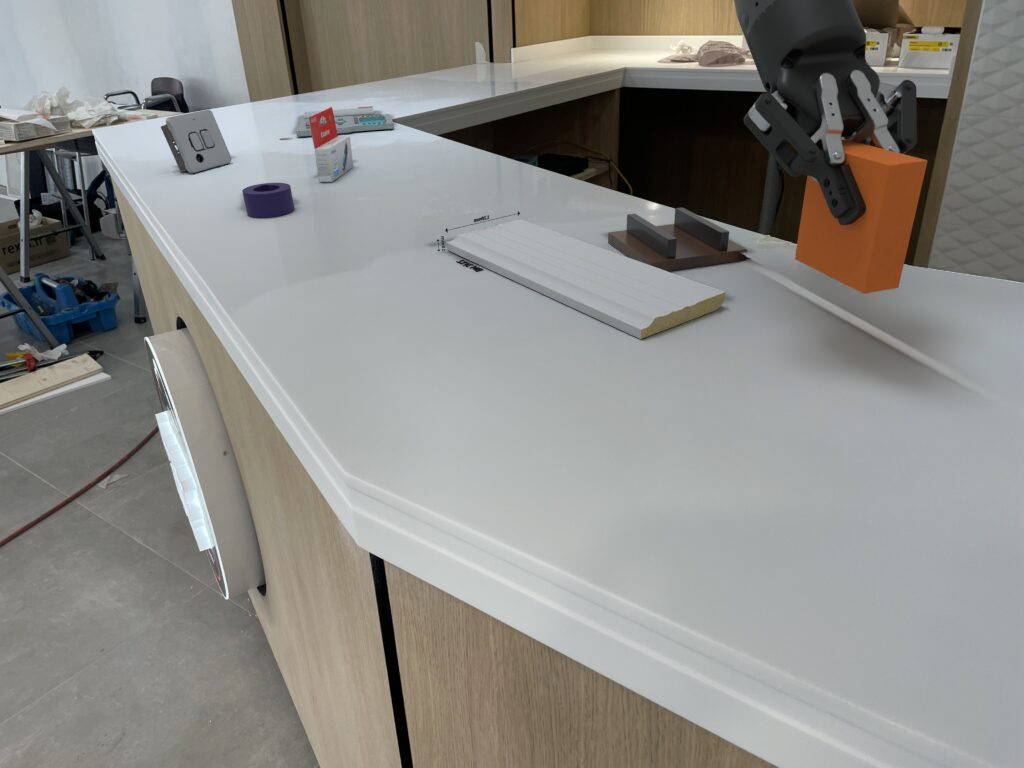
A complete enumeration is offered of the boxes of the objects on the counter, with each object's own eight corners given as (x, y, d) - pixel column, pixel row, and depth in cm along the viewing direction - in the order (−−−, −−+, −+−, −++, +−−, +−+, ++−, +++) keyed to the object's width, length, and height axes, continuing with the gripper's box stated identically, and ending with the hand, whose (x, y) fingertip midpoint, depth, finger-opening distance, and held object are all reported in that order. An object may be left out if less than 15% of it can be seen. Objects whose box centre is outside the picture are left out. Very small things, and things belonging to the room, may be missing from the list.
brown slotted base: (694, 231, 86) (696, 204, 85) (745, 260, 77) (749, 230, 75) (607, 242, 84) (608, 215, 82) (650, 274, 74) (652, 243, 73)
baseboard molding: (628, 344, 60) (723, 307, 66) (629, 312, 59) (727, 277, 65) (435, 253, 83) (520, 231, 89) (433, 227, 81) (519, 207, 87)
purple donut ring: (298, 213, 99) (294, 189, 98) (250, 220, 97) (245, 196, 96) (282, 194, 109) (278, 172, 108) (238, 200, 107) (233, 178, 105)
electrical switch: (192, 174, 123) (174, 117, 119) (171, 175, 125) (153, 118, 121) (233, 163, 130) (218, 108, 126) (213, 164, 133) (198, 110, 128)
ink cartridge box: (354, 166, 124) (346, 105, 119) (333, 183, 114) (323, 117, 110) (340, 167, 124) (331, 106, 119) (317, 183, 115) (307, 117, 110)
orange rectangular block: (826, 254, 59) (846, 139, 55) (898, 288, 52) (928, 160, 48) (794, 259, 58) (812, 143, 54) (863, 294, 52) (890, 165, 47)
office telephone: (299, 109, 168) (386, 103, 172) (301, 121, 169) (387, 115, 173) (294, 124, 148) (393, 117, 151) (296, 137, 149) (394, 130, 153)
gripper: (736, -19, 51) (821, 199, 46) (905, -28, 54) (999, 175, 49) (692, 58, 58) (762, 254, 53) (843, 46, 61) (921, 230, 56)
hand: (876, 215), depth 51 cm, fingers closed on orange rectangular block, 3 cm apart
